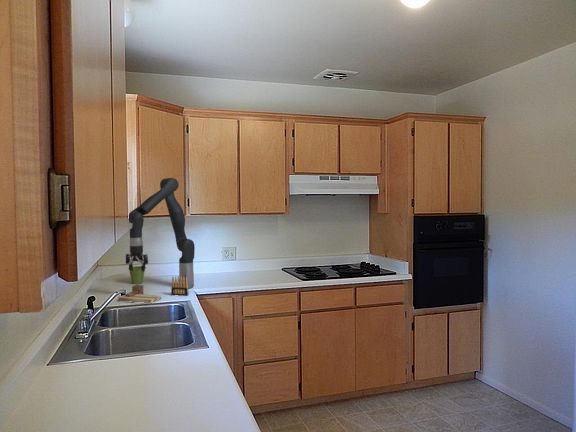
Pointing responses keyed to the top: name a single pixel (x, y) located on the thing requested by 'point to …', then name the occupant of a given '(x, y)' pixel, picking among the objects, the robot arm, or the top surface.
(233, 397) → the top surface
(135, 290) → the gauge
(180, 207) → the robot arm
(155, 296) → the board
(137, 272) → the plant pot
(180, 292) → the ammunition clip
